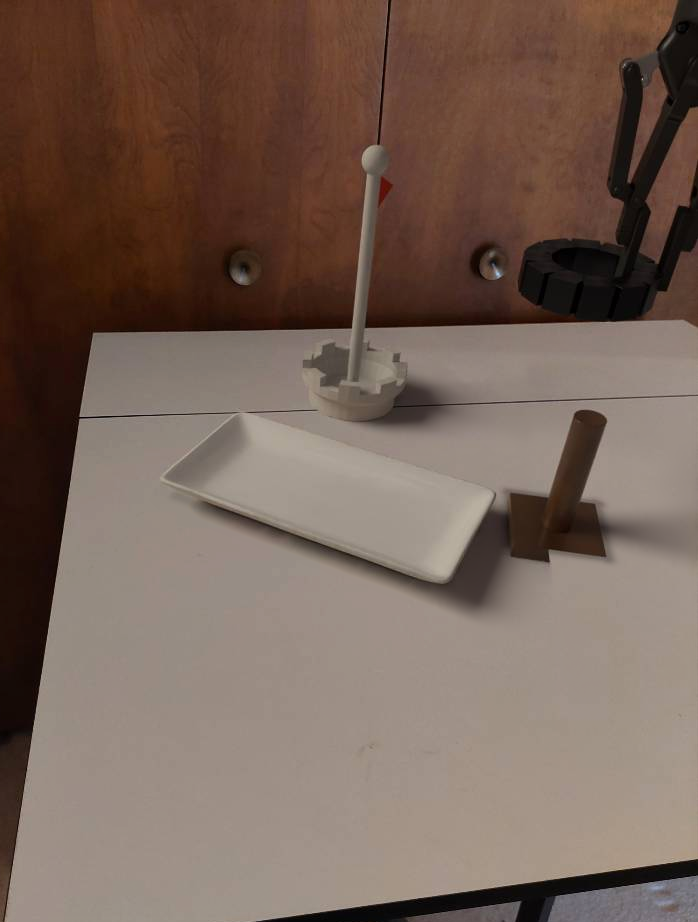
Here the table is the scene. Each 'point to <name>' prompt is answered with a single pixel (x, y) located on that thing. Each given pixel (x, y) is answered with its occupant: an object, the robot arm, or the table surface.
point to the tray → (336, 495)
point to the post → (562, 501)
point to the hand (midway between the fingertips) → (640, 283)
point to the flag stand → (358, 332)
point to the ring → (587, 280)
